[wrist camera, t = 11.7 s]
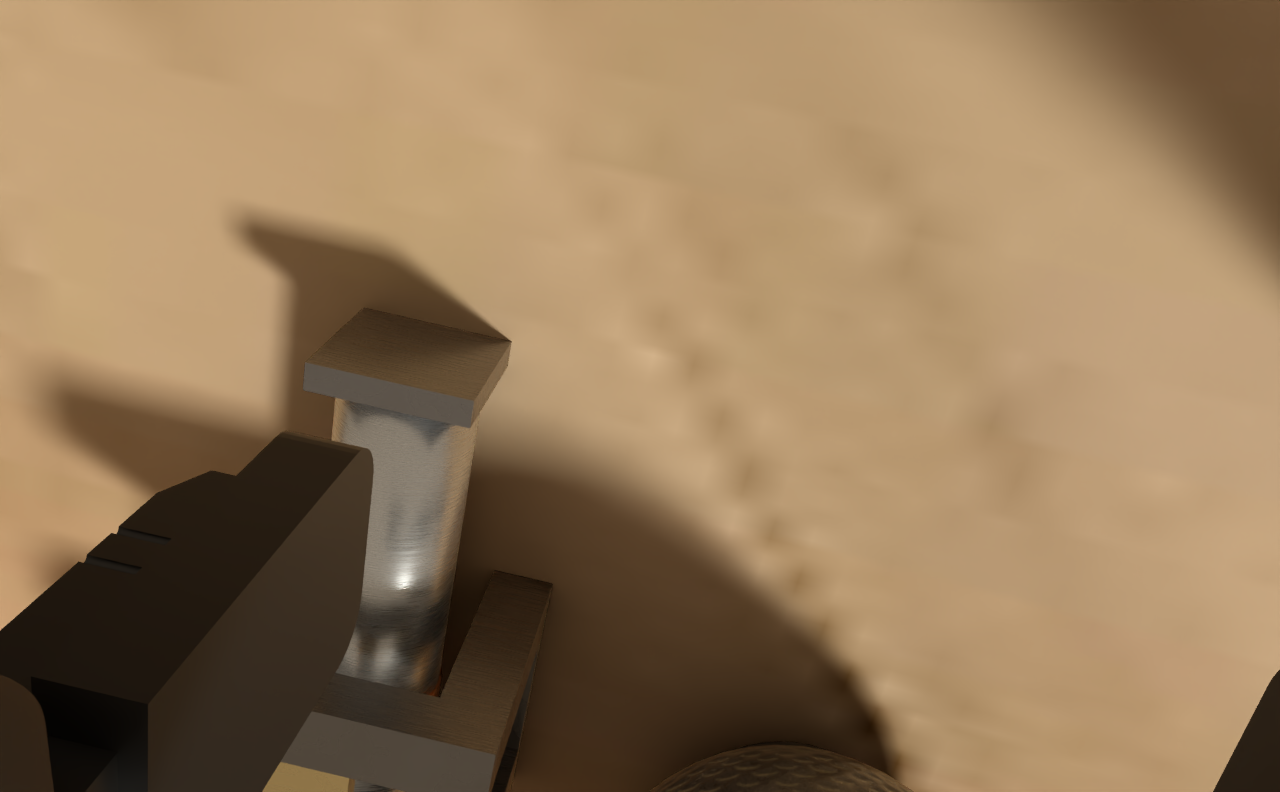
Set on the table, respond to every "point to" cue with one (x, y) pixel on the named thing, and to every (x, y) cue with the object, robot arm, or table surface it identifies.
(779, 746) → the planter
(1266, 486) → the table surface
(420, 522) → the tube
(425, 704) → the hollow square frame
